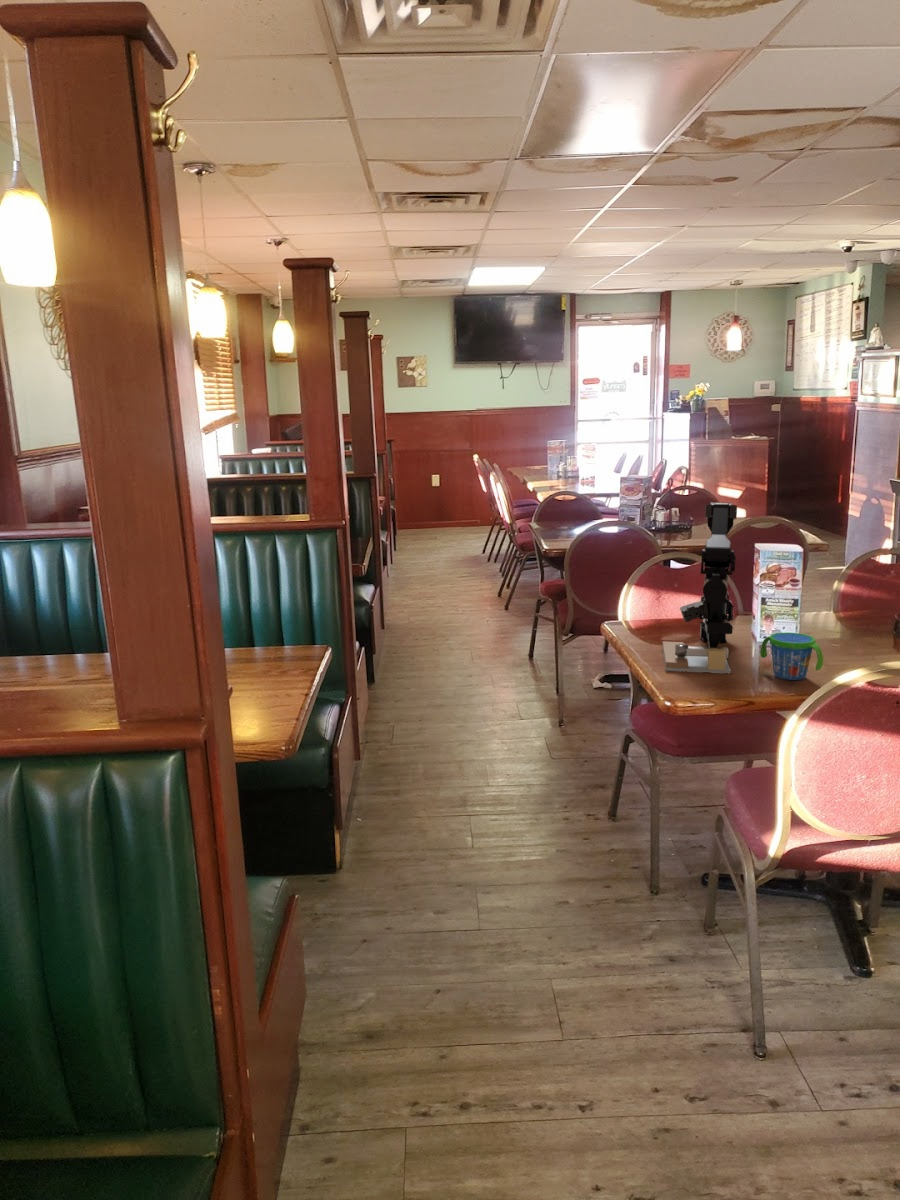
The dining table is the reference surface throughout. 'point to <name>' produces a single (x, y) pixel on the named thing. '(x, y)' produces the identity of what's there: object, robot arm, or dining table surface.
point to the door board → (695, 660)
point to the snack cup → (791, 654)
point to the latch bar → (694, 650)
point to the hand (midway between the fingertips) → (712, 651)
